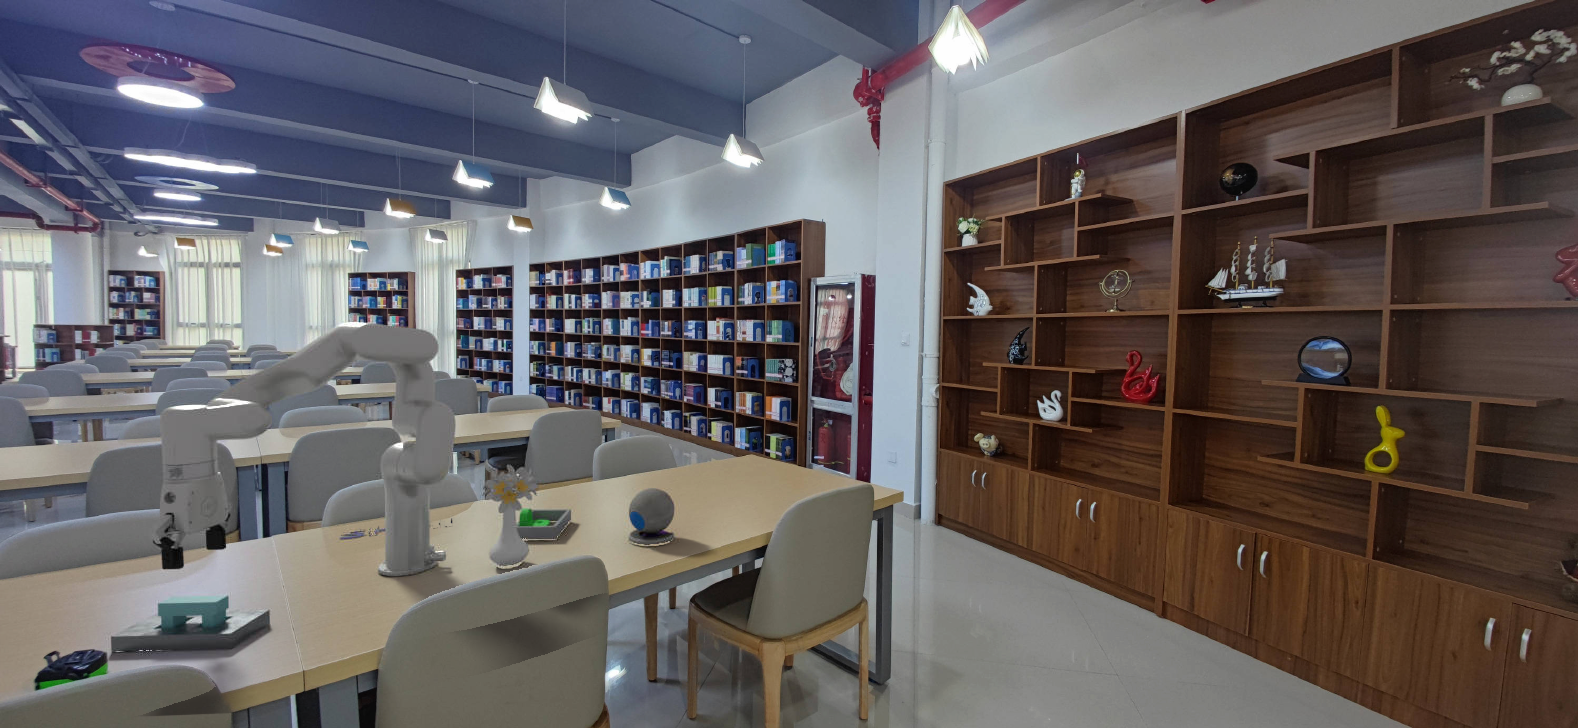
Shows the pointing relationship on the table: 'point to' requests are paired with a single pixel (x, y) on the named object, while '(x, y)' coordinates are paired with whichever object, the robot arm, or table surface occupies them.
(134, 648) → the gray slotted base plate
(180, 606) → the clip
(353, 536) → the signage
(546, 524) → the mechanical part
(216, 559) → the table surface
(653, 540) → the webcam
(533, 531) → the parts tray
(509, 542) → the flower vase
